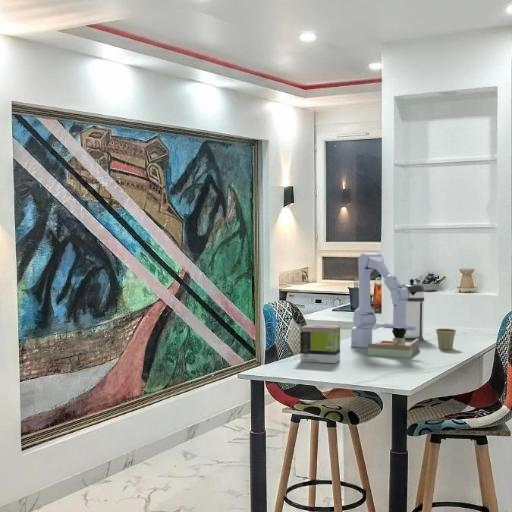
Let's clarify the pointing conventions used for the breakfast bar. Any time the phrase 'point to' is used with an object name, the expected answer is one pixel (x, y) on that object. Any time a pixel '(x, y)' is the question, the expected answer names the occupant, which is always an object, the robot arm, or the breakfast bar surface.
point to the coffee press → (415, 309)
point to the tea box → (320, 343)
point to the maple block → (399, 341)
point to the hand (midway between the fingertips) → (399, 345)
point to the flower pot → (445, 338)
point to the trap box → (393, 349)
